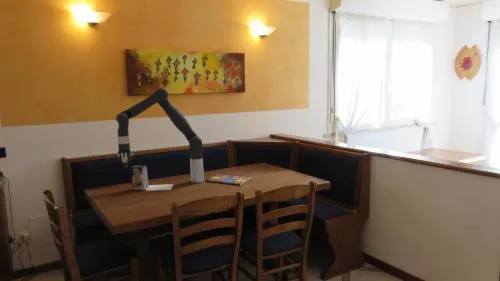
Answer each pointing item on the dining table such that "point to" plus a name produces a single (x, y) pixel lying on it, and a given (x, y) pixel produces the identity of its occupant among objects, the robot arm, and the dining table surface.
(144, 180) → the coffee box
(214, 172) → the dining table surface
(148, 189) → the mat
